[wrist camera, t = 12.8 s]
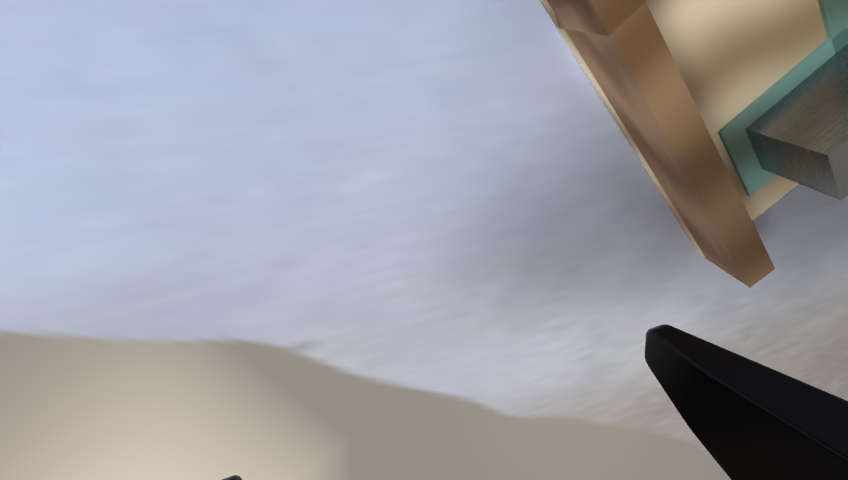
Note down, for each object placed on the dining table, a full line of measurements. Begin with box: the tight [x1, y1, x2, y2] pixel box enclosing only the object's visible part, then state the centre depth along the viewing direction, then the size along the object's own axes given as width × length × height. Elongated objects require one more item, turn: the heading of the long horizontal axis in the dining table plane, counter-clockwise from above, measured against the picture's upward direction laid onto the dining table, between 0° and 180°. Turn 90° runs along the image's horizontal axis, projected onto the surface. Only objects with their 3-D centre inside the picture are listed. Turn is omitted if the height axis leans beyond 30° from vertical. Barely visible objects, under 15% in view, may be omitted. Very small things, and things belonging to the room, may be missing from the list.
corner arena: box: [540, 0, 848, 287], centre depth 18 cm, size 18×18×4 cm
